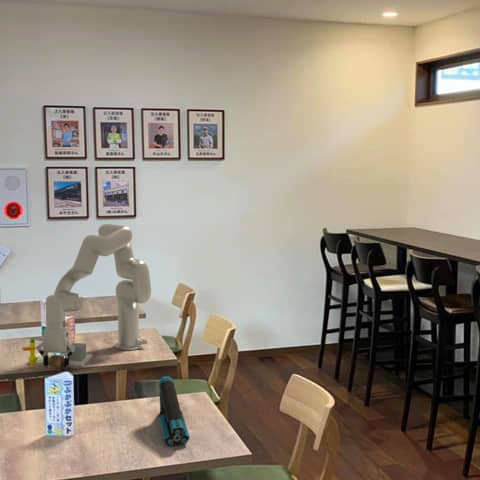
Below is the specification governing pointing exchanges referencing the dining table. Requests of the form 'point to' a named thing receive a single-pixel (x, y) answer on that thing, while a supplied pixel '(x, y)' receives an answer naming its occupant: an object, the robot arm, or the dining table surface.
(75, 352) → the pedestal
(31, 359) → the toy figure
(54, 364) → the walnut cube
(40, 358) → the build plate
